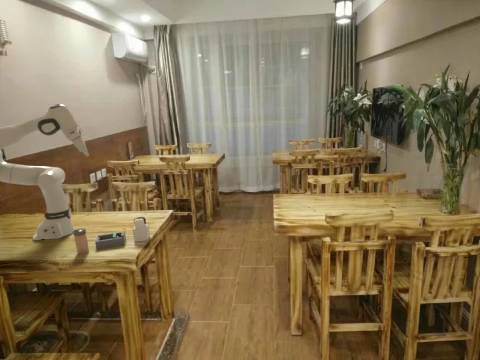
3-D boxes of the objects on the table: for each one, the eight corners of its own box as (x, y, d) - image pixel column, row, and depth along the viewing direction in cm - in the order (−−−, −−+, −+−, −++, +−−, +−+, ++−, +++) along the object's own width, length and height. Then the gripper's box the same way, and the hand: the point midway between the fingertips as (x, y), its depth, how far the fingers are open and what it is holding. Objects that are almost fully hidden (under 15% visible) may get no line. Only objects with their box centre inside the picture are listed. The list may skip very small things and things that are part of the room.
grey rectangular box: (96, 249, 181) (94, 240, 180) (99, 242, 190) (97, 233, 189) (124, 244, 184) (123, 235, 183) (125, 238, 194) (124, 229, 192)
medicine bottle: (137, 237, 194) (134, 216, 191) (150, 235, 195) (147, 215, 192) (134, 242, 187) (131, 220, 184) (147, 240, 188) (145, 219, 185)
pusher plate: (113, 243, 184) (112, 236, 183) (115, 238, 191) (114, 232, 190) (118, 242, 185) (117, 236, 184) (119, 237, 191) (118, 231, 190)
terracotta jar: (76, 255, 174) (71, 233, 172) (78, 251, 180) (74, 229, 177) (88, 254, 176) (84, 231, 173) (90, 249, 181) (86, 227, 178)
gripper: (67, 131, 197) (81, 151, 204) (68, 139, 180) (83, 161, 187) (77, 125, 199) (91, 146, 205) (79, 133, 181) (94, 155, 188)
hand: (87, 153), depth 196 cm, fingers open, 8 cm apart
